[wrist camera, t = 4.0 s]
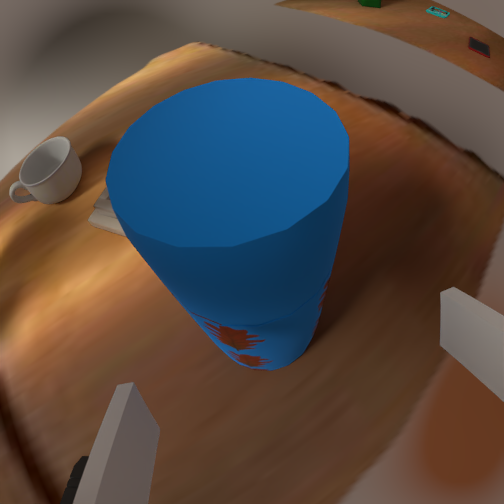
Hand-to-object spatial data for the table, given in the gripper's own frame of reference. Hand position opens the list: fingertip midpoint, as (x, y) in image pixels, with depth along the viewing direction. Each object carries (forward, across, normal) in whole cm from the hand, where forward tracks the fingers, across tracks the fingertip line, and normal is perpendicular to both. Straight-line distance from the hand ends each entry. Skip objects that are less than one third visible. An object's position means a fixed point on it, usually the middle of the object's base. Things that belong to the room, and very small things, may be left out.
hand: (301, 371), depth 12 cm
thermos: (+21, -1, -9) cm, 23 cm away
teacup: (+43, -30, +14) cm, 54 cm away
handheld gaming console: (+88, +100, +58) cm, 146 cm away
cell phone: (+65, +90, +34) cm, 116 cm away
